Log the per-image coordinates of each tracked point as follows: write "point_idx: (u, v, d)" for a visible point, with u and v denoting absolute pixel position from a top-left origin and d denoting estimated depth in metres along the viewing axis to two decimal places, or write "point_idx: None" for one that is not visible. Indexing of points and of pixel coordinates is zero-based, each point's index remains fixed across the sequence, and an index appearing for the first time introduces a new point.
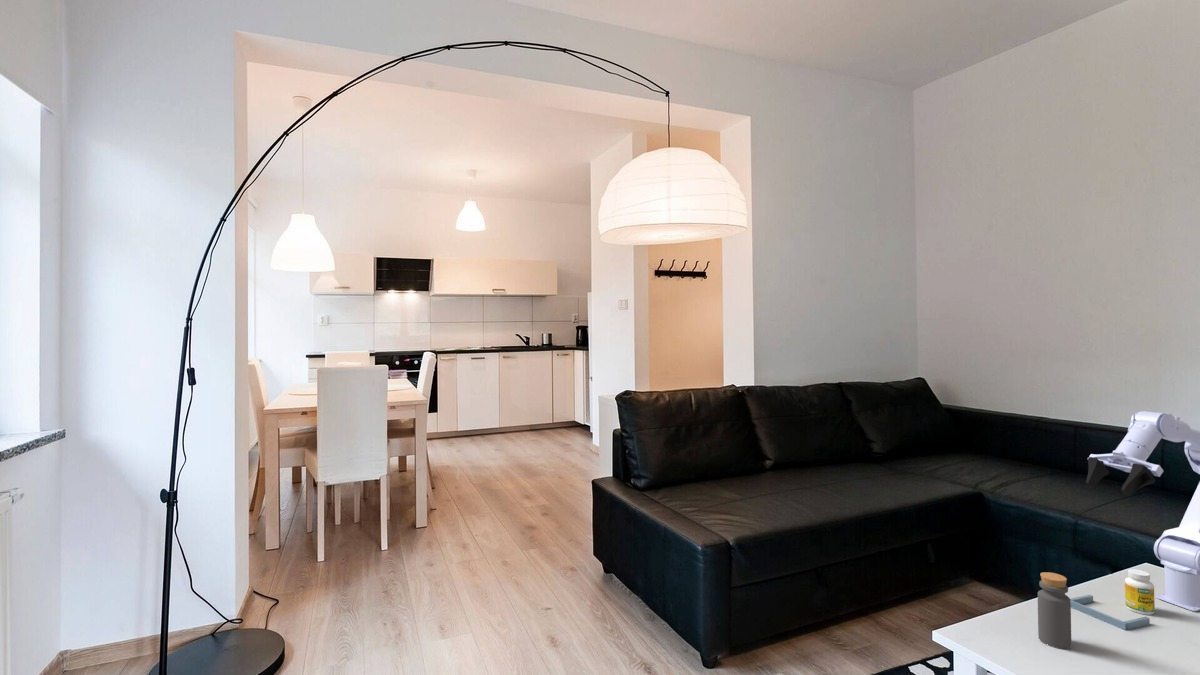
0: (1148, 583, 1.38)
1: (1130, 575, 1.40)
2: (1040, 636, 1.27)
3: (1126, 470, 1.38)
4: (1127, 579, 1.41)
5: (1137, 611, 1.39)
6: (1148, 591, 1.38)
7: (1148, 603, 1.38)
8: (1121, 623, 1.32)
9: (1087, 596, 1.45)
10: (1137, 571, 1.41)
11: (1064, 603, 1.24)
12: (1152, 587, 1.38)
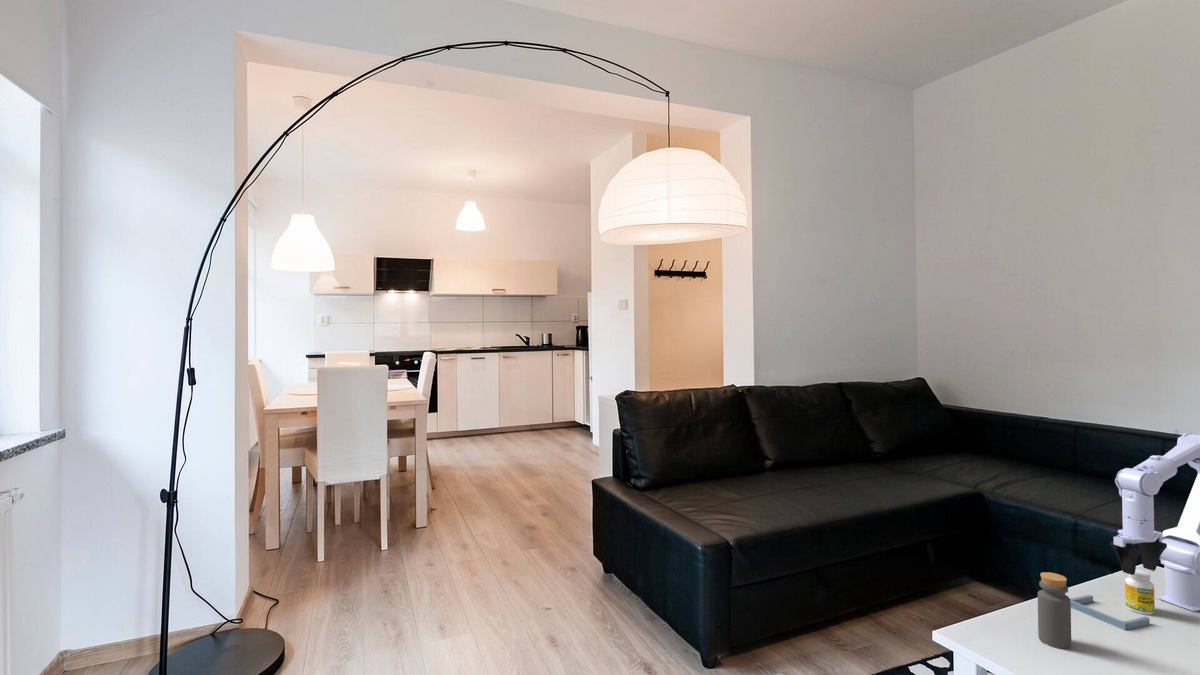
0: (1148, 583, 1.38)
1: (1130, 575, 1.40)
2: (1040, 636, 1.27)
3: None
4: (1127, 579, 1.41)
5: (1137, 611, 1.39)
6: (1148, 591, 1.38)
7: (1148, 603, 1.38)
8: (1121, 623, 1.32)
9: (1087, 596, 1.45)
10: (1137, 571, 1.41)
11: (1064, 603, 1.24)
12: (1152, 587, 1.38)
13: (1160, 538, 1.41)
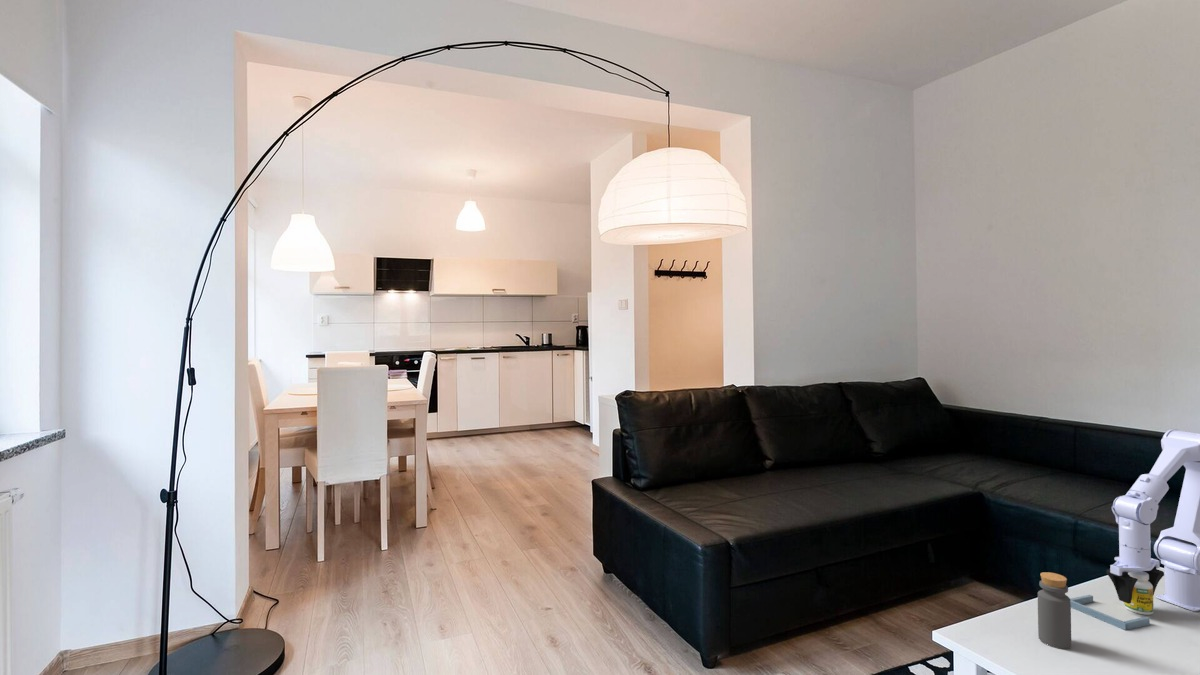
0: (1147, 583, 1.38)
1: None
2: (1040, 636, 1.27)
3: None
4: None
5: (1136, 611, 1.38)
6: (1147, 591, 1.37)
7: (1147, 604, 1.37)
8: (1121, 623, 1.32)
9: (1087, 596, 1.45)
10: (1136, 571, 1.41)
11: (1064, 603, 1.24)
12: (1151, 587, 1.38)
13: (1157, 566, 1.41)
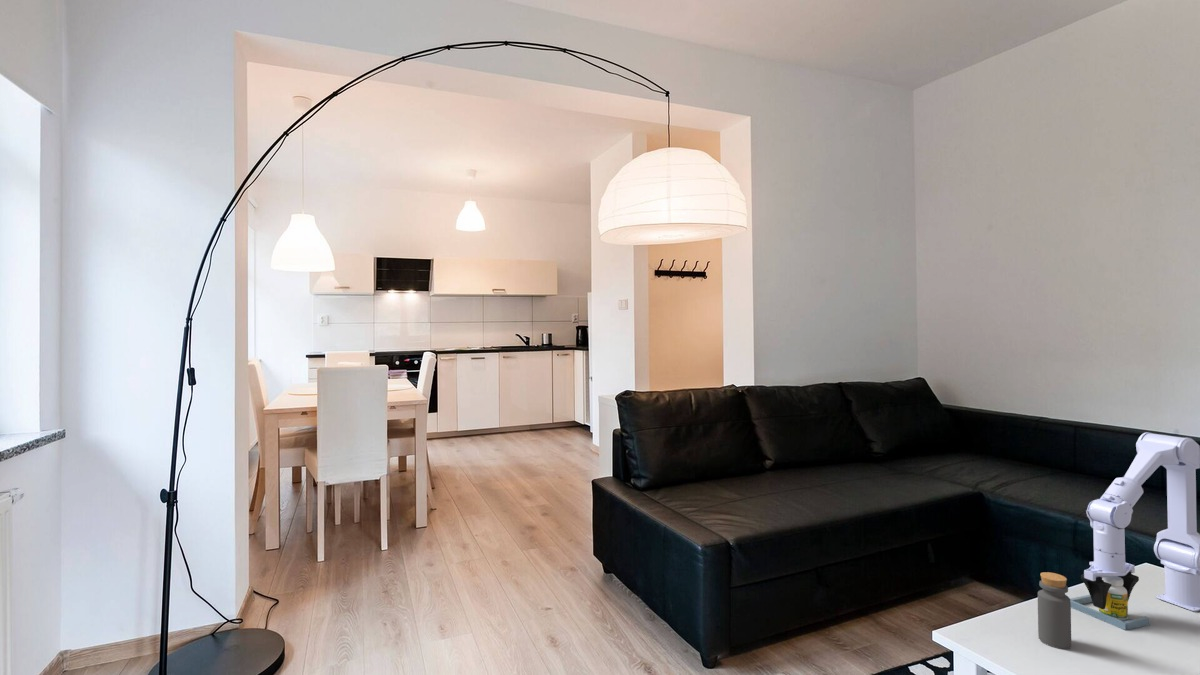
0: (1121, 588, 1.36)
1: None
2: (1040, 636, 1.27)
3: None
4: None
5: None
6: (1121, 597, 1.35)
7: (1121, 609, 1.35)
8: (1121, 623, 1.32)
9: (1087, 596, 1.45)
10: (1110, 576, 1.38)
11: (1064, 603, 1.24)
12: (1125, 593, 1.35)
13: (1132, 571, 1.38)
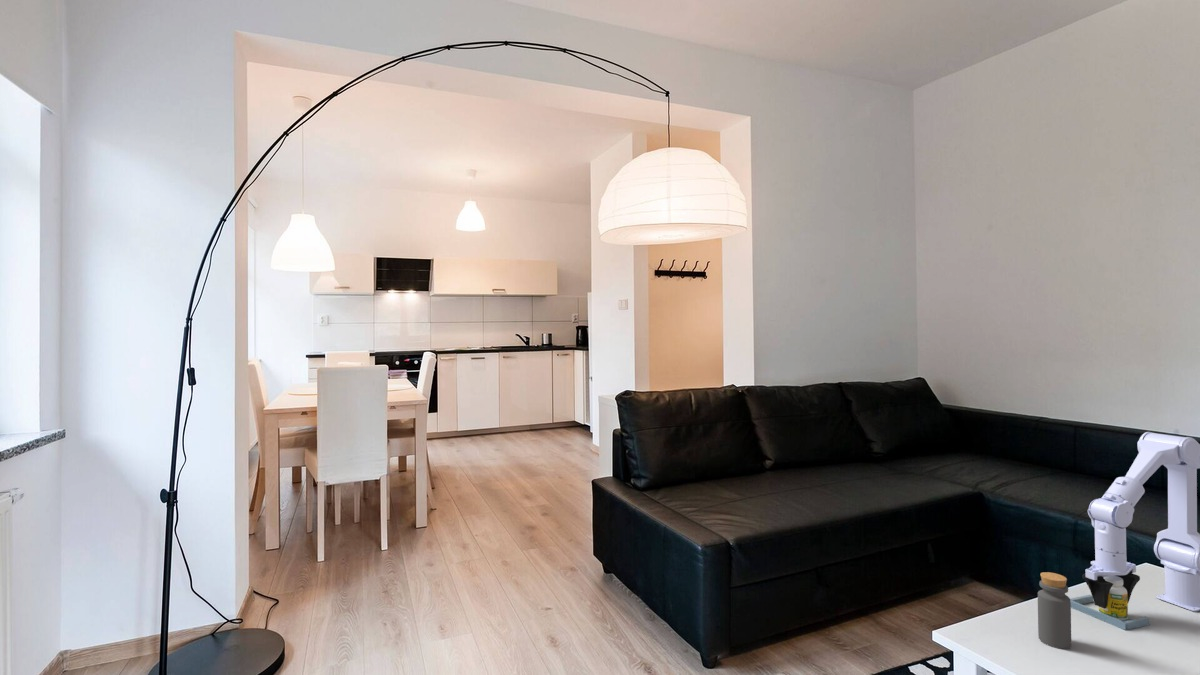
0: (1121, 588, 1.36)
1: None
2: (1040, 636, 1.27)
3: None
4: None
5: None
6: (1121, 597, 1.35)
7: (1121, 609, 1.35)
8: (1121, 623, 1.32)
9: (1087, 596, 1.45)
10: (1110, 576, 1.38)
11: (1064, 603, 1.24)
12: (1125, 593, 1.35)
13: (1133, 570, 1.38)
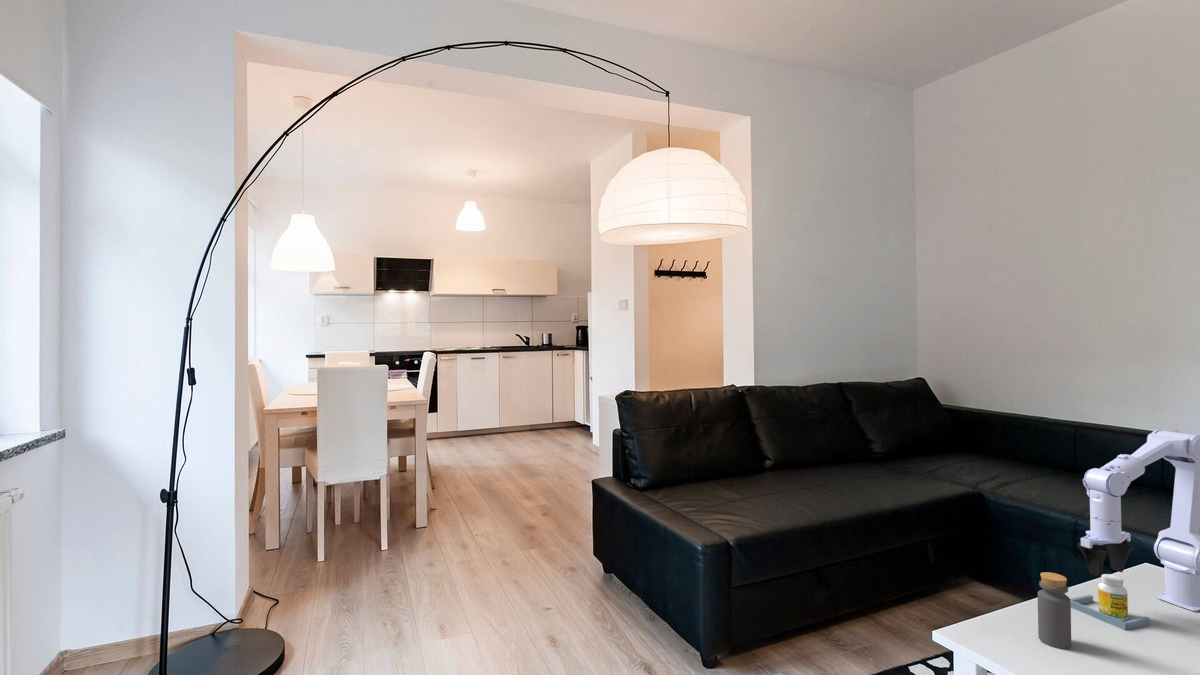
0: (1121, 588, 1.36)
1: (1103, 580, 1.38)
2: (1040, 636, 1.27)
3: None
4: (1100, 584, 1.39)
5: None
6: (1121, 597, 1.35)
7: (1121, 609, 1.35)
8: (1121, 623, 1.32)
9: (1087, 596, 1.45)
10: (1110, 576, 1.38)
11: (1064, 603, 1.24)
12: (1125, 593, 1.35)
13: (1128, 539, 1.39)
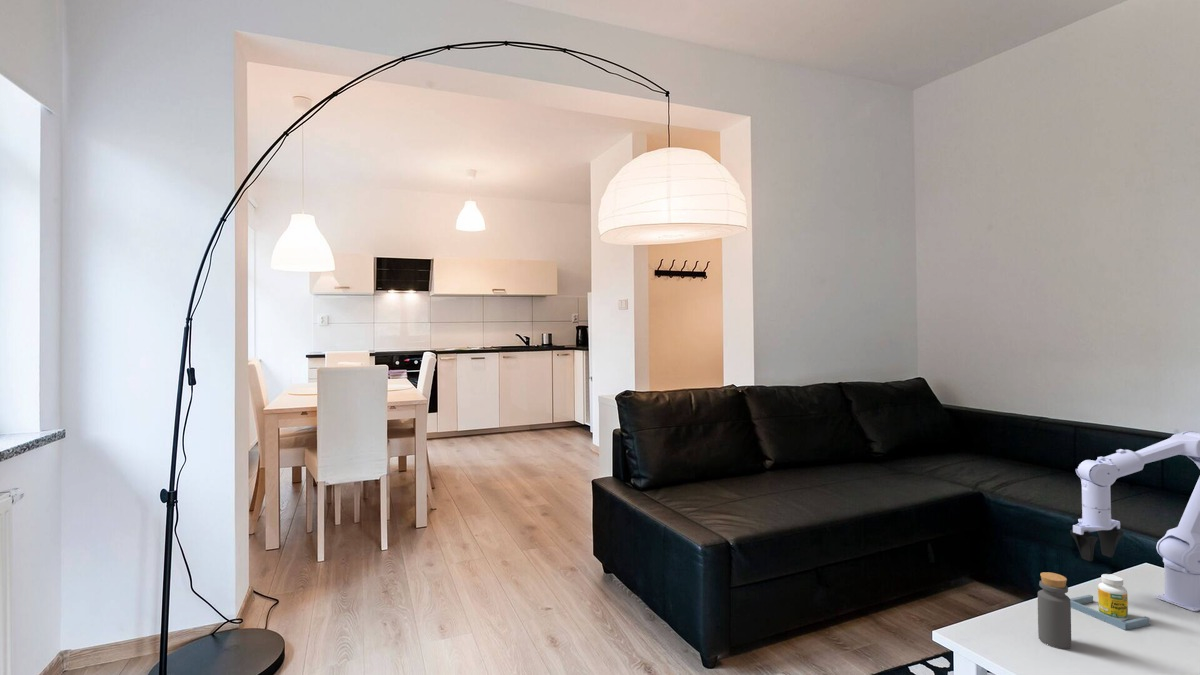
0: (1121, 588, 1.36)
1: (1103, 580, 1.38)
2: (1040, 636, 1.27)
3: None
4: (1100, 584, 1.39)
5: None
6: (1121, 597, 1.35)
7: (1121, 609, 1.35)
8: (1121, 623, 1.32)
9: (1087, 596, 1.45)
10: (1110, 576, 1.38)
11: (1064, 603, 1.24)
12: (1125, 593, 1.35)
13: (1118, 526, 1.48)
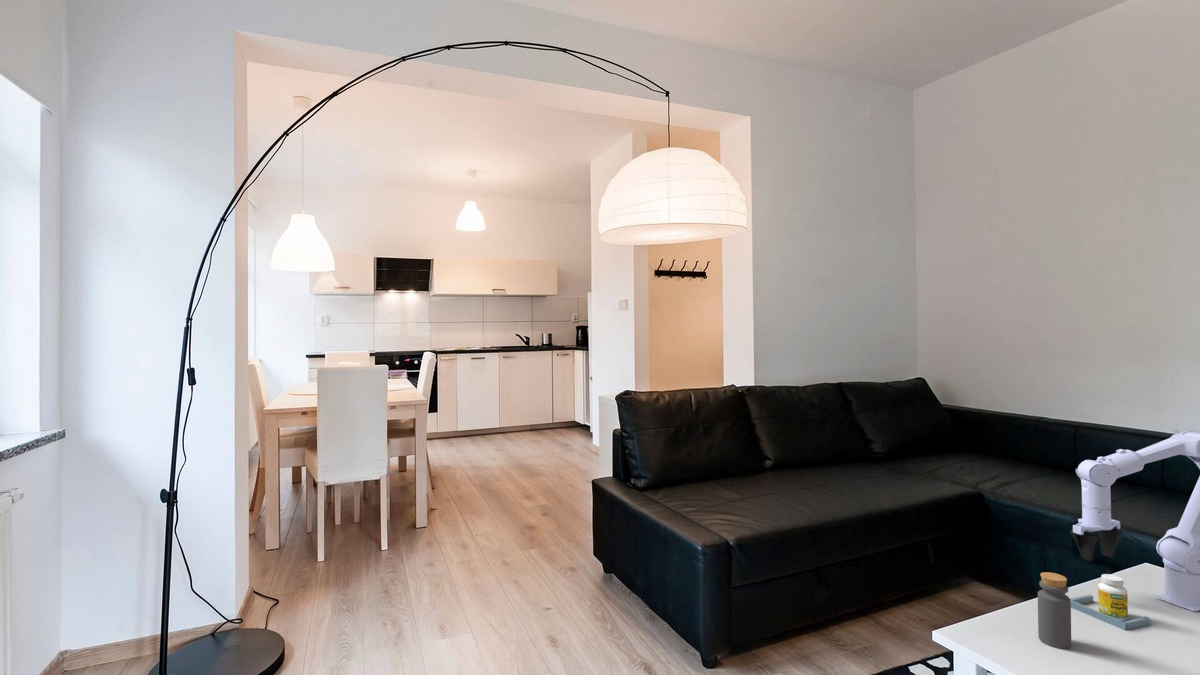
0: (1121, 588, 1.36)
1: (1103, 580, 1.38)
2: (1040, 636, 1.27)
3: None
4: (1100, 584, 1.39)
5: None
6: (1121, 597, 1.35)
7: (1121, 609, 1.35)
8: (1121, 623, 1.32)
9: (1087, 596, 1.45)
10: (1110, 576, 1.38)
11: (1064, 603, 1.24)
12: (1125, 593, 1.35)
13: (1118, 526, 1.48)
